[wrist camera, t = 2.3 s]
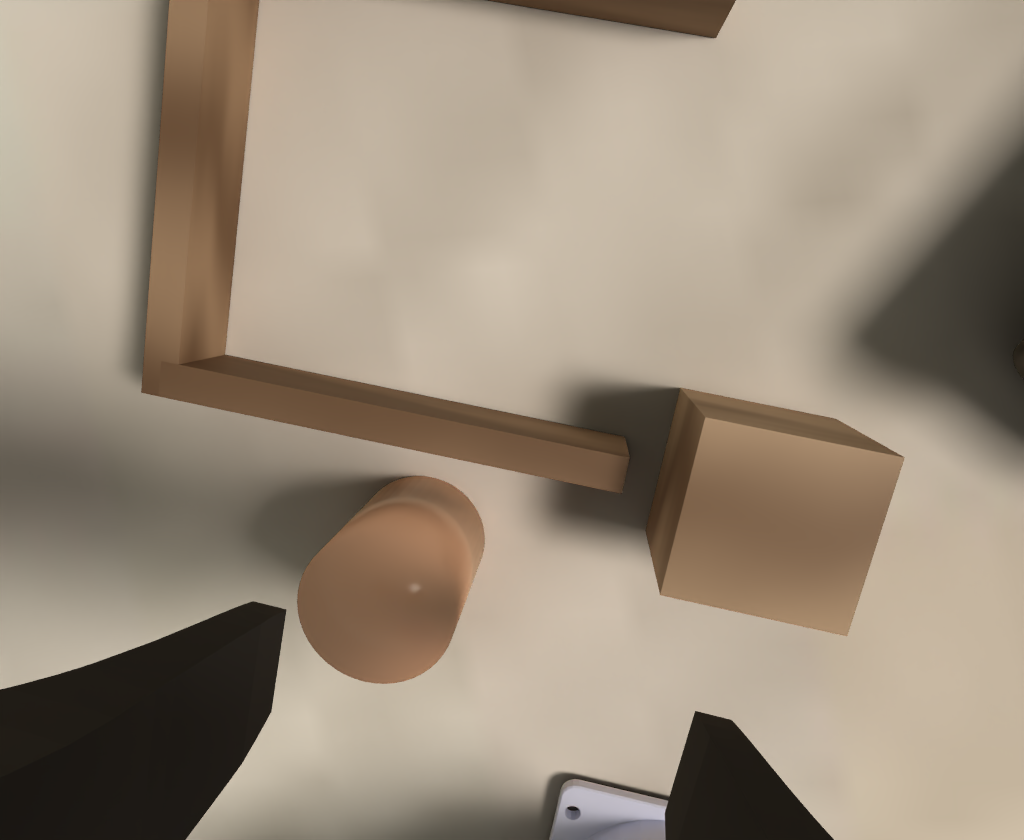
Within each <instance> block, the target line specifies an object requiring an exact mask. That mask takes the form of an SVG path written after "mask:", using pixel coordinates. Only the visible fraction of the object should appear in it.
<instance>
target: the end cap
mask: <svg viewBox="0 0 1024 840" xmlns="http://www.w3.org/2000/svg"><path fill="white" fill-rule="evenodd" d="M1013 360H1014V365H1015V367H1016V369H1017V371H1018V373H1019V374H1020V376H1021V377H1022V378H1023V379H1024V339H1023V340H1022V341H1021V342H1020V343H1019V345H1018V346H1017V347H1016V348H1015V350H1014V352H1013Z"/></svg>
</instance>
